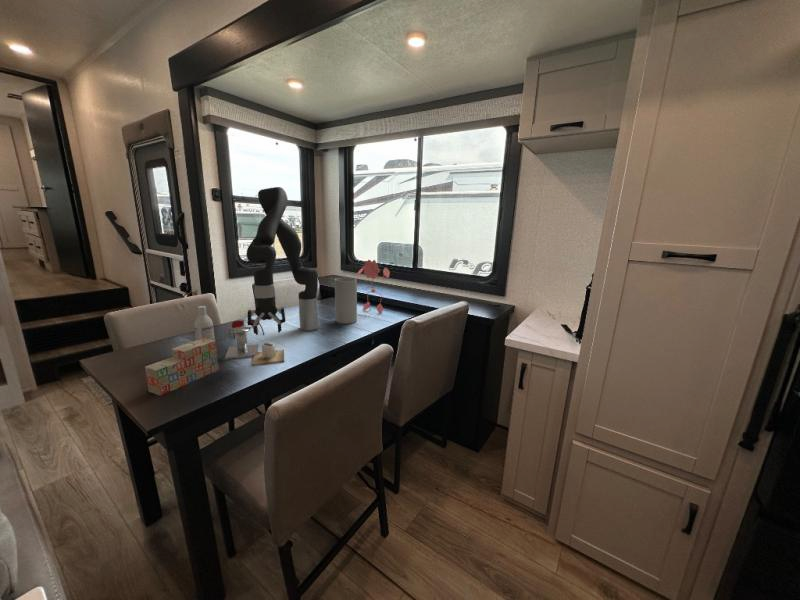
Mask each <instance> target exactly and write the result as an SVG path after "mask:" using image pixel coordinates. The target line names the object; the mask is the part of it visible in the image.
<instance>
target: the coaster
mask: <svg viewBox="0 0 800 600" xmlns="http://www.w3.org/2000/svg"><path fill="white" fill-rule="evenodd" d="M261 356H262V351H258V352H257V355H254V357H252V364H251V365H252V366H262V365H270V364H279V363H285V349H284V348H283V349H277V352H276V356H275V357H273V358H269V359H266V358H261Z"/></svg>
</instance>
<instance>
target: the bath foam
mask: <svg viewBox="0 0 800 600" xmlns="http://www.w3.org/2000/svg"><path fill="white" fill-rule="evenodd" d="M197 314H198V315H197V317H196V319H195V320H194V325H193V326H194V334H195V335H194V336H195V341H196V340H197V341H198V340H201V339H204V338H206V339H210V340H214V341H216V338H215V329H214V323H213V320H212V319H211V317H210V316H209V315H208V314H207V307H206V306H205V305H200V306H197Z"/></svg>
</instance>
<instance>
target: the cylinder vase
mask: <svg viewBox="0 0 800 600" xmlns="http://www.w3.org/2000/svg"><path fill="white" fill-rule="evenodd" d="M357 281H358V279H357V278H355V277H337V278H334V307H335V308H334V312H335V313H334V316H335V322H336V323H337V324H343V325H347V324H348V325H350V324H354V323H356V322H357V321H358V309H357V308H358V307H357V305H358V290H357V289H358V287H357V286H358V284H357V283H358V282H357Z"/></svg>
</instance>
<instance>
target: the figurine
mask: <svg viewBox="0 0 800 600" xmlns="http://www.w3.org/2000/svg"><path fill="white" fill-rule="evenodd" d="M362 272H363V274H364V275H366V278H367V279H371V280H370V284H371V290H370V291H368V292H367V293H366V295H367V300H369V293H372V294H374V293H376V294H378V295H379V296H380V299H382V296H383V295H382V294H381V293H379V292H377V291H376V289H375V288H374V286H373V280H375V278H379V279H383V280H384V279H385V277H386V278H387V279H389V278H390V275H391V272H390V269H388V268H386V267H384V269H383V277H380V276H379V273H380V272H381V269H380V268H379V264H378V263H377V261H376V260H375V259H373V260H370V259H368V260H365V261H364V265H363V266H362V268H361V269H359V270H358V272H357V274H356V275H355V277H358V276H359V275H360V274H362ZM379 301H380V302H379V304H377V307H376V310H377V312H378V314H379V315H381V313H383V310H384V307H383V305H382V304H381V302H382V300H379ZM370 305H371V302H369V301H367V302H366V303H365V304H364V305H363V308H362V311H363V312H365V311H367V309H368V308H369V311H371V310H372V309H371V306H370ZM359 316H361V314H360V313H359ZM364 317H366V318H367V317H368V316H366V315H364Z"/></svg>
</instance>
